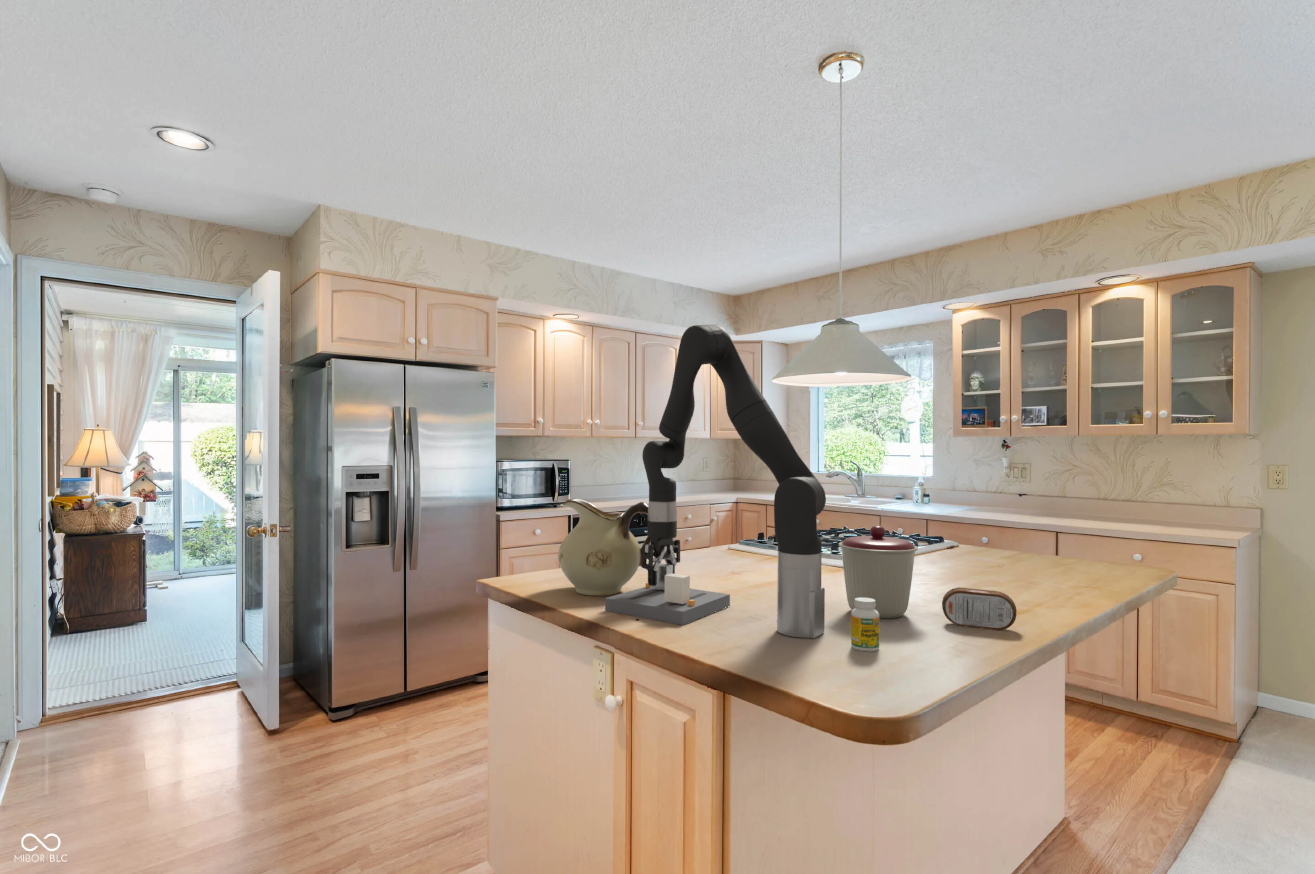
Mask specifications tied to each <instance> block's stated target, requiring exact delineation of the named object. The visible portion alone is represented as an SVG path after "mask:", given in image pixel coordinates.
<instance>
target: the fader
mask: <svg viewBox="0 0 1315 874" xmlns="http://www.w3.org/2000/svg"><path fill="white" fill-rule="evenodd" d="M690 581H691V580H690V575H686V574H677V573H675V574H668V575H665V600H664V601H667V602H673V603H679V604H684V603H687V602H688V600H689V594H690V589H691V587H690V584H691V583H690Z"/></svg>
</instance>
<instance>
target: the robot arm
mask: <svg viewBox="0 0 1315 874" xmlns="http://www.w3.org/2000/svg"><path fill="white" fill-rule="evenodd" d="M703 365H711V366H712V368H713V369H714V371H715V372H716V373H717V375H718V377H719V379H720V380H721V382H722V384H723V388H724V392H725V393H724V394H725V396H724V397H725V409H726V412H727V416H728V418H729V420H730V422H731V423H732V426H733V428H734V429H735V431H736V432H737V434H738V436H739V437H740V438H741V440H742V441H743V442H744V444H745V445H746V446H747V447H748V449H750V450H751V451H752V452H753V453H754V454H755V456H756V457H758V458H759V459H760V460H761V461H762V462H763V463H764V465H766V466H767V468H768V469H769V471H770V472H771V473H772V474H773V477H774V478H775V480H776V481H777V483H778V486H777V487H776V489H775V493H774V499H773V500H774V501H773V517H774V518H773V519H774V520H773V522H774V525H773V526H774V536H775V540H776V543H777V591H776V592H777V594H776V595H777V599H776V600H777V603H776V605H777V607H776V612H777V614H776V617H777V619H776V625H777V626H776V628H777V629H776V631H777V632H778V633H780V634H782V635H783V636H789V637H793V638H811V639H815V638H817V637H819V636H820V635H822V634H824V633H825V612H826V610H825V604H826V603H825V600H826V598H825V597H826V596H825V593H826V592H825V591H826V590H825V587H822V558H823V556H822V549H823V548H822V547H823V546H822V545H823V544H822V539H821V538H820V537H819V535H818V525H817V524H818V523H817V521H818V520H817V516H818V515H819V514H821V513H822V512H823V510H824V509H825V506H826V504H827V503H826V502H827V499H826V498H827V497H826V492H825V488H824V487H823V485H822V484H821V482H820V481H819V480H818V478H817V477H816V476H815V475H814V473H813V472H812V470H810V468H809V467H808V466H807V464H806V463H805V461H803V460H802V458H801V456H800V455H799V454H798V452H797V450H796V449H795V447H794V445H793V443H792V442H791V440H790V438H789V437H788V434H787V433H786V431H785V429H784V428H783V426H782V424H781V423H780V421H779V419H778V418H777V416H776V415H775V412H774V411H773V409H772V408H771V406H770V405H769V403H768V401H767V400H766V398H765V397H764V396H763V393H761V391H760V389H759V388H758V386H757V384H756V383H755V381H754V379H753V378H752V376H751V374H750V372H749V371H748V369H747V368H746V366H745V365H744V362H743V360H742V358H741V356H740V354H739V352H738V350H737V348H736V345H735V343H734V342H733V340H732V338H731V335H730V333H728V331H726V329H725V328H724V327H722V326H720V325H717V324H696V325H695V324H694V325H692V326H691V325H690V326H688V328H686V329H685V330H684V332H683V334H682V335H681V338H680V343H679V346H678V351H677V357H676V362H675V367H674V373H673V378H672V384H671V389H670V392H669V393H670V394H669V397H668V400H667V403H666V406H665V408H664V411H663V414H662V417H661V420H660V423H659V425H658V431H659V433H660V434H661V435H662V436H663V437H665V438H666V439H668V441H667V440H650V441H647V443H646V444H645V445H644V447H643V449H642V462H643V466H644V469H645V475H646V478H647V482H648V504H647V505H648V515H647V531H646V532H647V536H648V537H649V538H651V543H650V544H649V545H646V544H644V545H643V544H642V545H643V555H642V567H641V568H642V569H645V570H646V571H647V583H648V585H650V586H656V585H657V571H656V570H657V567H658V565H659V563H660V564H662V561H663V560H664V561H665V564H668V565H673V574H676V573H675V572H676V570H675V569H676V568H675V567H676V566H677V563H678V564H679V563H680V562H681V539H675V538H677V537H678V536H677V535H678V534H677V533H678V530H677V529H678V508H677V482H676V480H675V479H673V478H671V477H666V476H665V475H664V473H663V470H662V469H676V468H678V467H679V466H680V465H681V463H682V462H683V461H684V458H685V446H686V436H687V432H688V429H689V426H690V424H691V421H692V419H693V417H694V412H695V406H696V405H695V403H696V402H695V395H694V394H695V392H694V387H695V381H696V378H697V375H698V373H699V371H700V369H701V367H703ZM647 560H648V562H647ZM653 564H654V566H653Z"/></svg>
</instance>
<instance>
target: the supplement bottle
mask: <svg viewBox="0 0 1315 874" xmlns="http://www.w3.org/2000/svg"><path fill="white" fill-rule="evenodd" d="M854 605H855V607H856V608H855V609H853V610H851V612H850V630H851V631H850V635H851V636H850V637H851V638H850V645H851V647H852V649H854V650H856V651H858V652H859V651H860V652H870V653H871V652H876V651H878V650H879V649H880V618H879V613H878V611H876V610H875V609H874V608H875V606H876V601H875V600H874V599H871V598H855V601H854Z"/></svg>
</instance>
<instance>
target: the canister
mask: <svg viewBox="0 0 1315 874" xmlns="http://www.w3.org/2000/svg"><path fill="white" fill-rule="evenodd" d="M869 532H870V533H869V534H870V535H860V536H858V535H857V536H850V537H846V538H845V539H844V540H843V541H840V542H839V543H838V545H839V547H840V548H841V556H842V557H841V558H842V565H843V566H842V567H843V576H844V583H845V593H846V600H847V604H848V606H849V609H850V610H851V611H852V610H853V609H855V608H856V607H855V605H854V601H855V598H871V599H874V600H875V601H876V606H875V608H874V609H875V610H876V611H878V613H879V619H895V618H900V617H901V616H903V615H905V614H906V612H907V609H908V607H909V601H910V597H911V596H910V595H911V588H912V580H913V572H914V564H915V563H914V562H915V553H916V552H917V551H918V549H919V547H918V546H916V545H914V544H913V543H912V542H911V541H909V540H907V539H903V538H897V537H891V536H885V535H886V529H885V528H884V526H881V525H874V526H872V527H871V528H870V529H869Z"/></svg>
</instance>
